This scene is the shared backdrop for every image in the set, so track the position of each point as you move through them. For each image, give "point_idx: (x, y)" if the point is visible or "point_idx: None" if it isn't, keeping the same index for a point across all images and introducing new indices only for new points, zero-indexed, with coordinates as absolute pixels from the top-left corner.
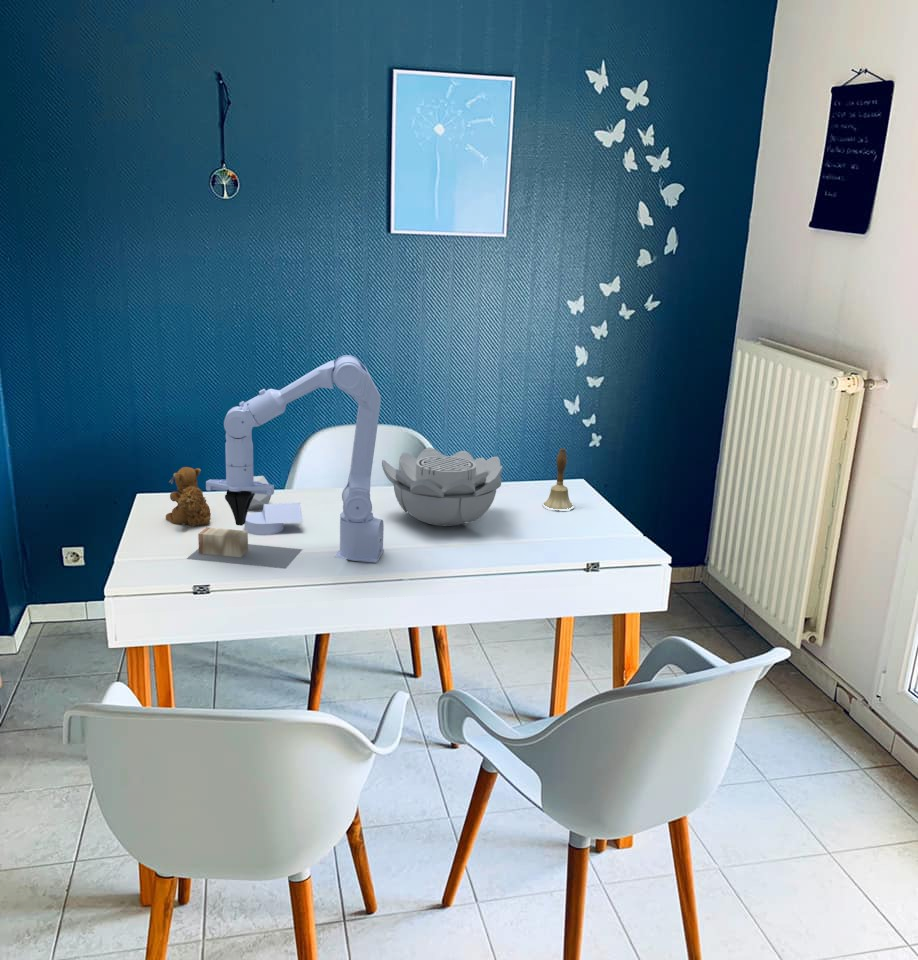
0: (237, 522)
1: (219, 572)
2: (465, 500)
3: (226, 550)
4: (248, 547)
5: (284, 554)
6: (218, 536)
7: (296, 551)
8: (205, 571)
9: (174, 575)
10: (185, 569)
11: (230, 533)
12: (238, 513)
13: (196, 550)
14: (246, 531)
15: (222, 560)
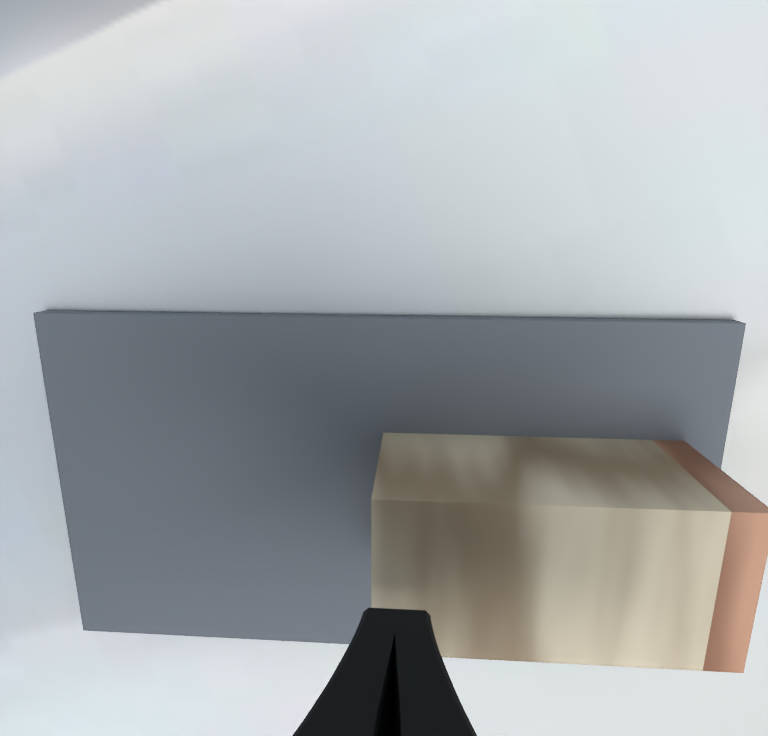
0: (408, 624)
1: (442, 178)
2: None
3: (487, 450)
4: None
5: (144, 533)
6: (574, 503)
7: (99, 591)
8: (544, 170)
9: (748, 28)
10: (698, 171)
11: (490, 575)
12: (398, 728)
13: None
14: None
15: (481, 351)
